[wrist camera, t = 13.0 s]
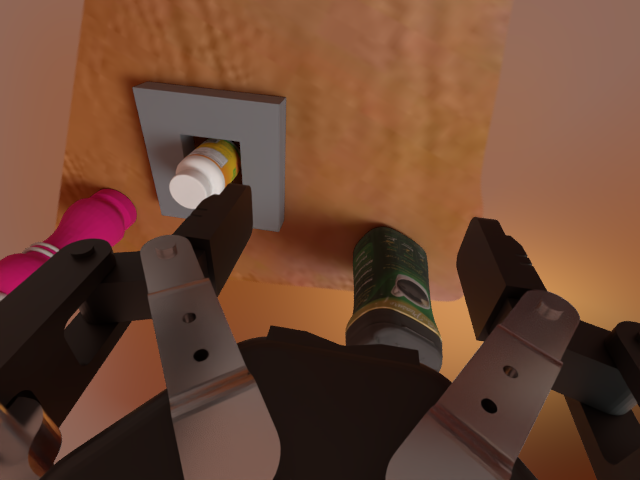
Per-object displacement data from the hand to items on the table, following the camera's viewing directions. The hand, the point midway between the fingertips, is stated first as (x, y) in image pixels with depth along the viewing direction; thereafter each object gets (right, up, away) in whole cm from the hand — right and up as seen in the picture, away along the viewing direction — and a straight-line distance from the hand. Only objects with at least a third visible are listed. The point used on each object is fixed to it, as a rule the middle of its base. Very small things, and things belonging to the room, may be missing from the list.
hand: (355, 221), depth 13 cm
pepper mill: (-31, +4, +38) cm, 49 cm away
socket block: (-13, +10, +30) cm, 35 cm away
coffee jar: (+8, -2, +35) cm, 36 cm away
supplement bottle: (-13, +10, +30) cm, 35 cm away
